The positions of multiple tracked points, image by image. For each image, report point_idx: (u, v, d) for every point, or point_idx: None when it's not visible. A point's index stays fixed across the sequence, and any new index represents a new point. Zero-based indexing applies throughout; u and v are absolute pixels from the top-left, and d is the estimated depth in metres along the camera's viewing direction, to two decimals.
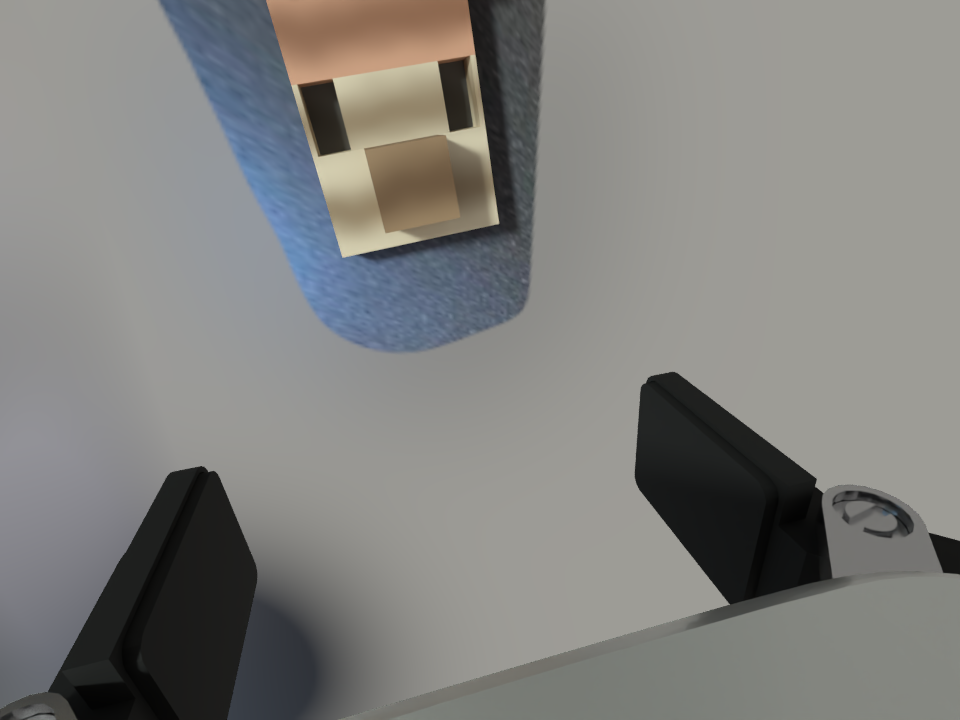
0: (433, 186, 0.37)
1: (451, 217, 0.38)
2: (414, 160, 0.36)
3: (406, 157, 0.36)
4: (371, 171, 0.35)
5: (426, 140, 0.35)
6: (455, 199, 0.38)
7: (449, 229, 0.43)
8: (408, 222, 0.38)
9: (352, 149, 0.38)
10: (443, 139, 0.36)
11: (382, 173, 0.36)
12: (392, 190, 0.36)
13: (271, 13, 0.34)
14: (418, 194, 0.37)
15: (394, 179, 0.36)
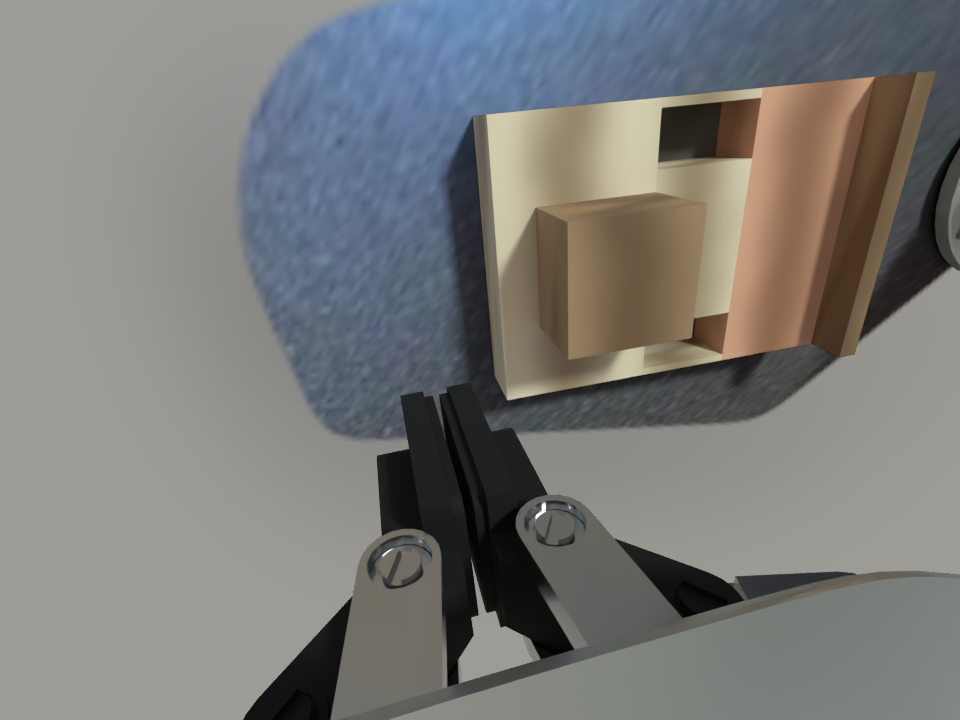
0: (625, 316, 0.21)
1: (571, 345, 0.21)
2: (670, 287, 0.21)
3: (678, 274, 0.21)
4: (674, 210, 0.20)
5: (692, 308, 0.22)
6: (598, 351, 0.22)
7: (510, 323, 0.25)
8: (577, 268, 0.20)
9: (658, 172, 0.23)
10: (687, 334, 0.22)
11: (666, 230, 0.20)
12: (637, 244, 0.20)
13: (845, 82, 0.23)
14: (619, 290, 0.21)
15: (652, 250, 0.20)
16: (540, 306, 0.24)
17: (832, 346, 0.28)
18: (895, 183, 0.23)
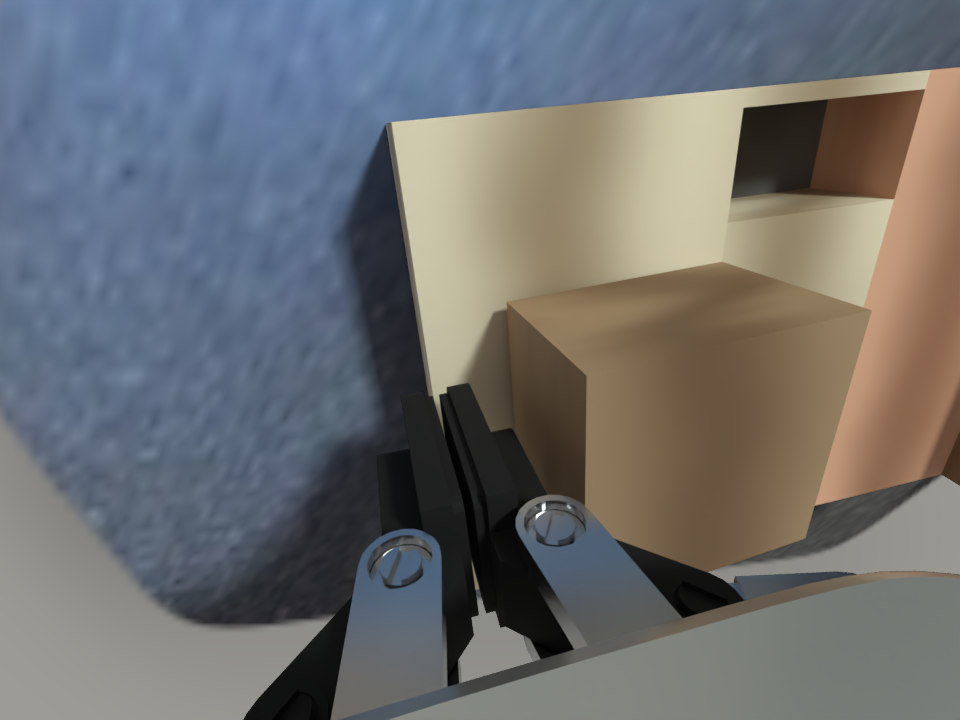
0: (695, 527, 0.10)
1: None
2: (782, 465, 0.10)
3: (798, 442, 0.10)
4: (809, 329, 0.09)
5: (815, 493, 0.11)
6: None
7: None
8: (606, 462, 0.09)
9: (729, 226, 0.12)
10: (798, 534, 0.12)
11: (789, 368, 0.09)
12: (729, 401, 0.09)
13: None
14: (687, 486, 0.10)
15: (757, 408, 0.09)
16: None
17: None
18: None
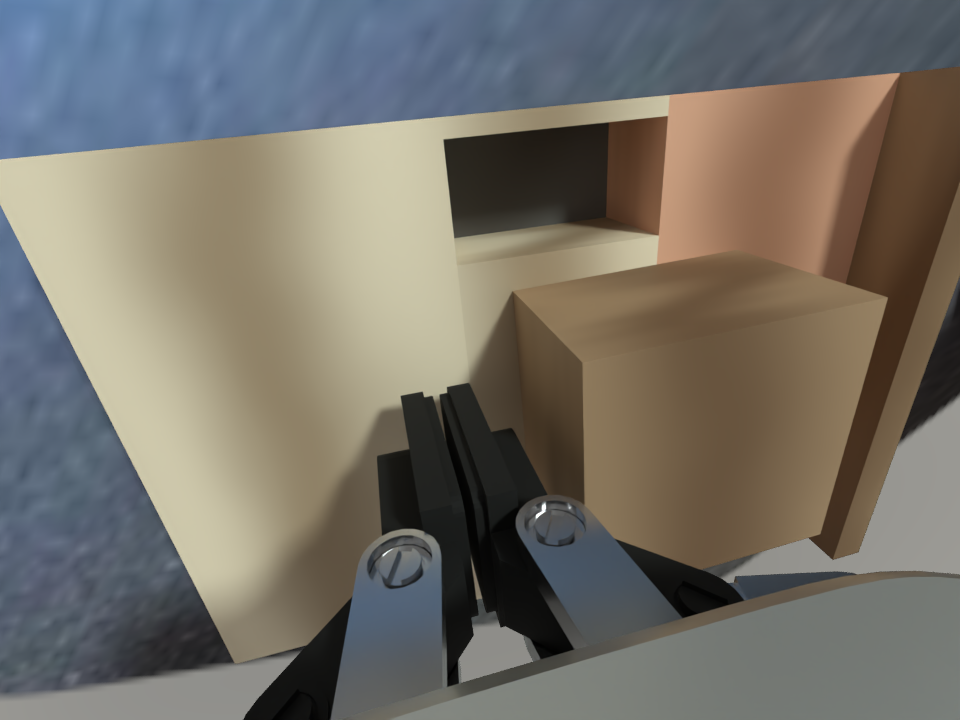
0: (701, 519, 0.10)
1: None
2: (793, 458, 0.10)
3: (811, 434, 0.10)
4: (818, 317, 0.09)
5: (830, 487, 0.11)
6: None
7: (198, 553, 0.13)
8: (605, 450, 0.09)
9: (461, 269, 0.11)
10: (813, 529, 0.11)
11: (798, 357, 0.09)
12: (734, 390, 0.09)
13: (841, 83, 0.11)
14: (692, 477, 0.10)
15: (765, 398, 0.09)
16: (528, 457, 0.13)
17: (820, 537, 0.16)
18: (941, 284, 0.12)
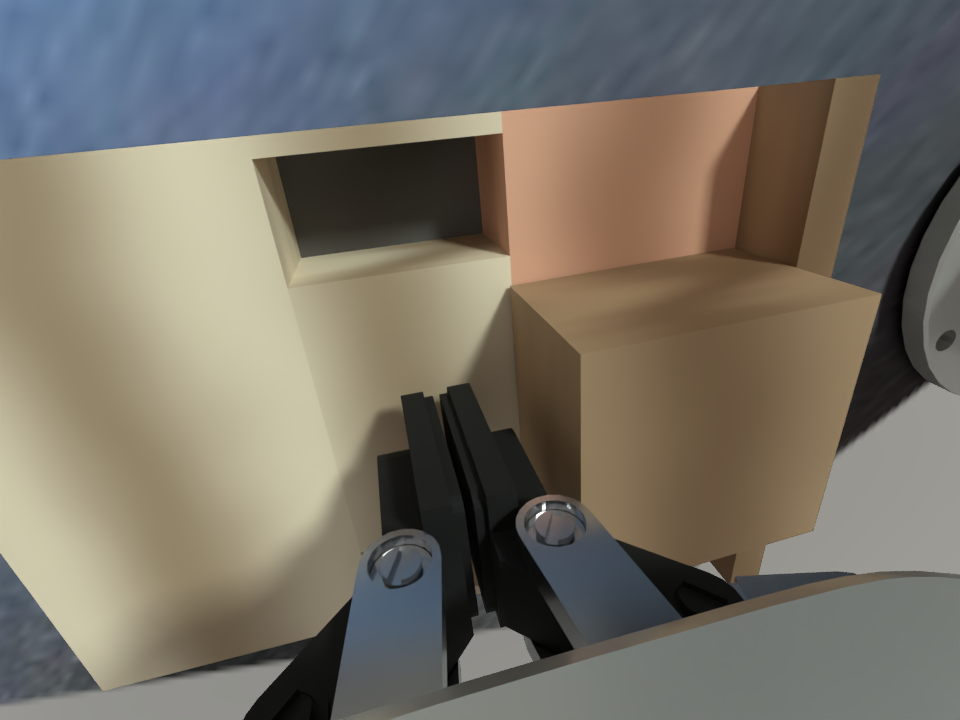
0: (696, 514, 0.10)
1: None
2: (787, 454, 0.10)
3: (805, 430, 0.10)
4: (814, 312, 0.09)
5: (823, 484, 0.11)
6: None
7: (44, 581, 0.12)
8: (602, 443, 0.09)
9: (292, 292, 0.11)
10: (806, 526, 0.12)
11: (793, 353, 0.09)
12: (730, 384, 0.09)
13: (693, 97, 0.11)
14: (687, 472, 0.10)
15: (760, 393, 0.09)
16: None
17: (719, 562, 0.16)
18: None
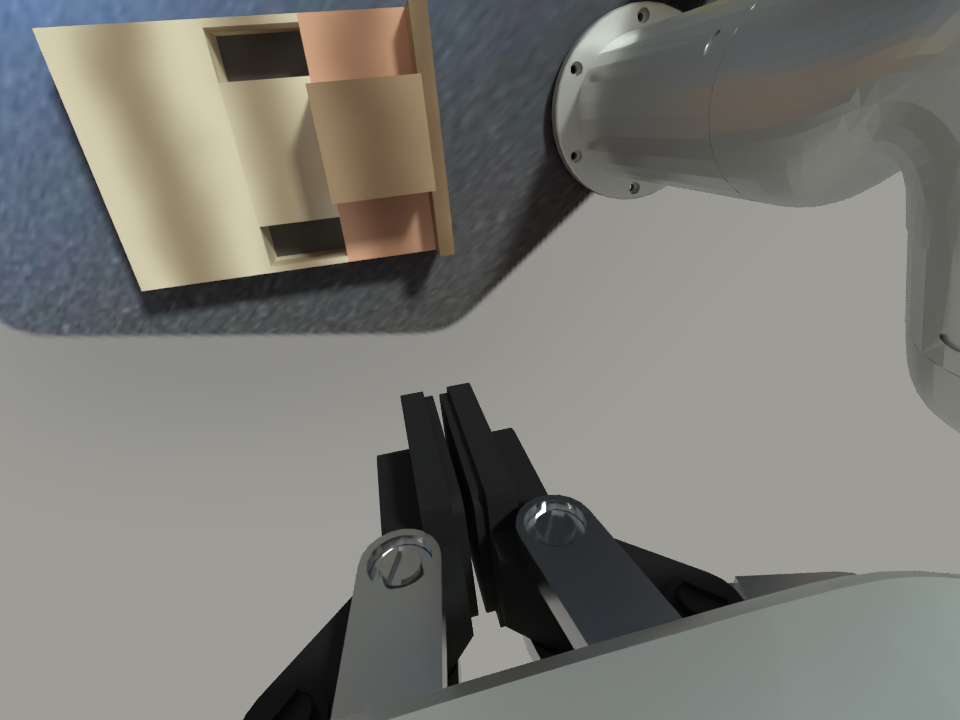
0: (373, 168, 0.27)
1: (332, 191, 0.27)
2: (406, 144, 0.27)
3: (410, 133, 0.27)
4: (394, 77, 0.26)
5: (430, 164, 0.28)
6: (356, 198, 0.28)
7: (119, 218, 0.29)
8: (322, 123, 0.26)
9: (220, 85, 0.27)
10: (431, 187, 0.28)
11: (391, 94, 0.26)
12: (368, 105, 0.26)
13: (376, 10, 0.28)
14: (362, 144, 0.27)
15: (383, 111, 0.26)
16: None
17: (438, 247, 0.33)
18: (429, 96, 0.28)
